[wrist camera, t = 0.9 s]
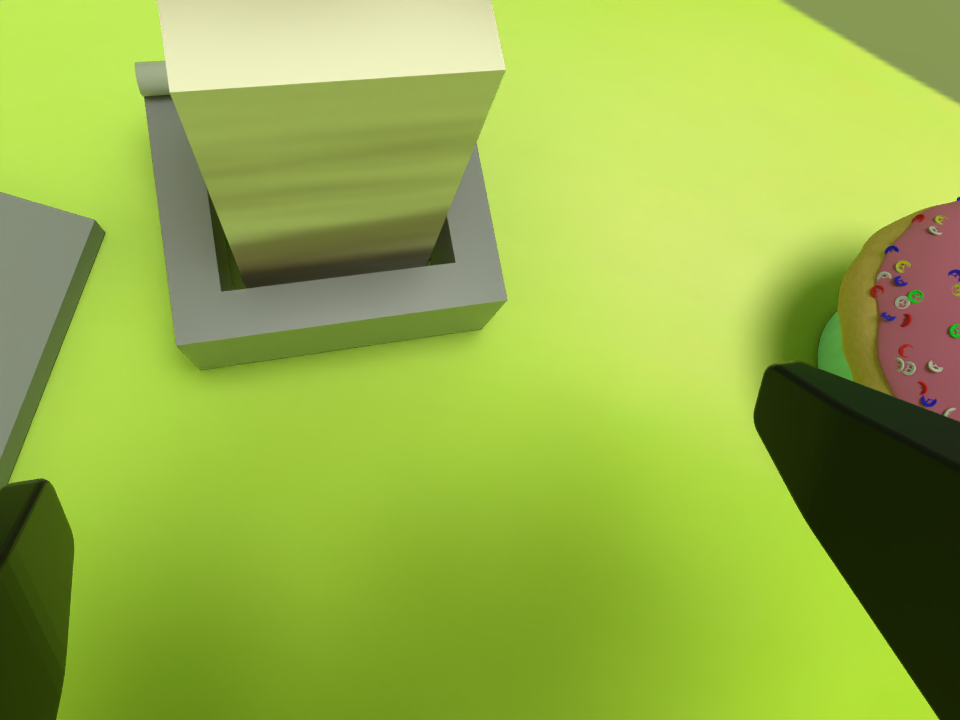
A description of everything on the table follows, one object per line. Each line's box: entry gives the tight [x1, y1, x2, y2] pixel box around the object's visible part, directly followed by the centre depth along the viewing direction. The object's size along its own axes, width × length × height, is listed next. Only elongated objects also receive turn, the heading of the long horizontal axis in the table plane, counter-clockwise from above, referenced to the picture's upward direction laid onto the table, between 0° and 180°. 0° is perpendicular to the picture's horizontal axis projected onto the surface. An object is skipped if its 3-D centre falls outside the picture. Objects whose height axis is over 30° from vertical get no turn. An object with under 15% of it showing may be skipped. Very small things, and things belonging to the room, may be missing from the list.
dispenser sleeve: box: [135, 61, 507, 370], centre depth 21 cm, size 7×8×4 cm
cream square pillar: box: [157, 0, 506, 289], centre depth 17 cm, size 4×5×12 cm
